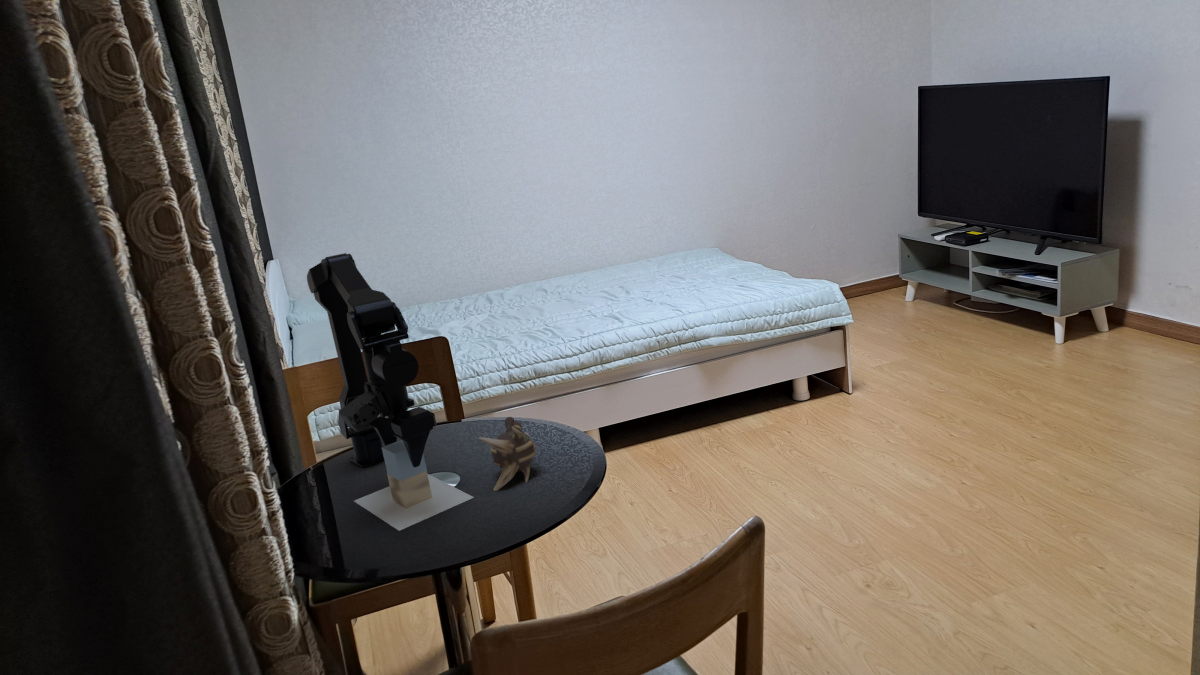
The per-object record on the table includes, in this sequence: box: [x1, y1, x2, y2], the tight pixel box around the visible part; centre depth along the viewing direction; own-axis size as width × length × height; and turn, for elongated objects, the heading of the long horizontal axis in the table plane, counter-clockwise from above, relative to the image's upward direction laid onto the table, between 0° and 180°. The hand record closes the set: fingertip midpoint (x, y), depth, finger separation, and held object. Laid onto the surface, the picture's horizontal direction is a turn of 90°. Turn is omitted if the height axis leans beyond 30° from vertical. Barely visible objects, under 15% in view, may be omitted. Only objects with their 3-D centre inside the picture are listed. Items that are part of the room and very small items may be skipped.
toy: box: [477, 416, 536, 492], centre depth 149 cm, size 11×8×15 cm
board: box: [353, 473, 474, 532], centre depth 145 cm, size 18×14×1 cm
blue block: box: [382, 439, 428, 481], centre depth 143 cm, size 5×5×5 cm
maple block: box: [386, 470, 432, 508], centre depth 144 cm, size 5×5×5 cm
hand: (404, 460), depth 143 cm, fingers open, 9 cm apart
